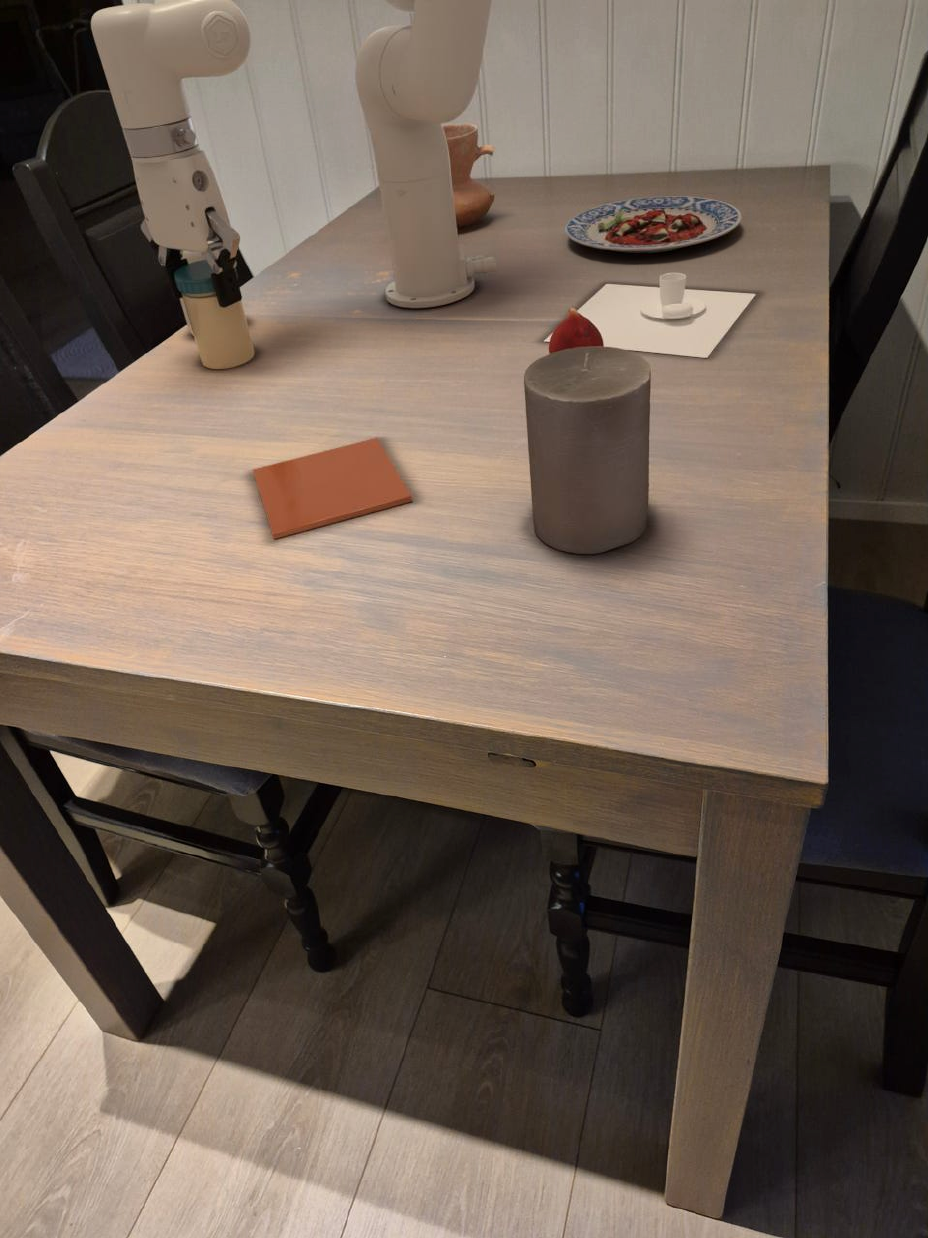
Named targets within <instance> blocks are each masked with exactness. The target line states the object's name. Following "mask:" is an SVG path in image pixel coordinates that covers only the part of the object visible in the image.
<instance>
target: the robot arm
mask: <svg viewBox="0 0 928 1238" xmlns="http://www.w3.org/2000/svg"><path fill="white" fill-rule="evenodd" d="M385 1H386V3H387V4H388V5H390V6H391V7H392V8H394V9H396V10H397V11H400V12H403V13H407V14H412V20H411V25H405V24H404V25H402V24H401V25H398V24H397V25H396V24H395V25H388V26H387V25H386V26H384V27H381V28H379V29H376V30H375V31H373V32H372V33H371V34H369V35H368V36H367V38H366V39H365V40H364V41H363V43H362V44H361V46H360V48H359V51H358V53H357V56H356V60H355V68H354V69H355V70H354V75H355V85H356V90H357V94H358V99H359V101H360V105H361V109H362V111H363V115H364V118H365V121H366V124H367V127H368V128H367V129H368V131H369V135H370V140H371V145H372V149H373V154H374V161H375V166H376V172H377V173H376V174H377V180H378V186H379V192H380V200H381V205H382V210H383V217H384V225H385V232H386V236H387V242H388V247H389V249H388V250H389V256H390V262H391V267H392V273H393V280H394V281H392V282H391V283H390V284H388V285H387V287H386V288H385V291H384V293H385V294H384V295H385V300H386V301H387V303H390V304H391V305H393V306H395V307H399V308H404V309H405V308H407V309H429V308H435V307H440V306H445V305H449V304H452V303H456V302H458V301H461V300H462V299H464V298H467V297H468V296H469V295H470V294H472V292H473V291H474V290H475V279H474V278H475V277H474V275H478V274H488V273H494V272H496V269H497V266H496V260H495V257H494V256H490V257H485V258H484V255H482V254H481V255H475V256H471V257H467V256H466V255H465V256H464V255H463V253H462V251H461V249H460V244H459V233H458V229H457V224H456V215H455V207H454V198H453V189H452V180H451V171H450V168H451V167H450V159H449V151H448V146H447V141H446V137H445V133H444V130H443V126H442V125H443V124H445V123H449V122H452V121H454V120H456V119H458V118H459V117H460V116H461V115H463V113H465V111H466V110H467V108H468V107H469V105H470V104H471V102H472V100H473V98H474V95H475V92H476V89H477V87H478V86H477V85H478V82H479V77H480V73H481V67H482V62H483V55H484V50H485V45H486V38H487V31H488V25H489V20H490V13H491V7H492V1H493V0H385ZM90 29H91V33H92V37H93V40H94V43H95V47H96V50H97V53H98V56H99V59H100V61H101V65H102V69H103V71H104V75H105V79H106V81H107V84H108V88H109V91H110V94H111V97H112V102H113V104H114V108H115V110H116V115H117V117H118V120H119V124H120V127H121V130H122V133H123V137H124V140H125V143H126V146H127V149H128V153H129V156H130V158H131V159H130V160H131V162H132V167H133V173H134V179H135V184H136V189H137V192H138V193H137V194H138V197H139V201H140V204H141V208H142V212H143V215H144V219H143V221H142V222H141V224H140V230H141V231H142V233H143V234H144V236H145V238H146V239H147V240H148V242H149V245H150V247H151V249H152V250H153V251H154V252H155V254H156V255H157V256H158V257H157V258H158V259H157V260H158V261H159V264H160V265H161V266H163V269H164V272H165V275H166V279H167V281H168V284H169V285H168V286H169V288H170V291H171V294H172V297H173V299H175V300H180V298H183V297H182V292H180V291H179V290H178V288H177V286H176V282H175V277H174V273H175V272H176V270H178V269H179V268H181V267H183V266H185V265H187V264H188V261H187V259H182V257H183V250H185V251H192V252H201V253H202V254H203V256H204V257H205V259H206V260H207V262H208V263H209V265H210V266H211V268H212V270H213V271H214V273H212V274H211V278H212V282H213V285H214V289H215V292H216V296H217V300H218V303H219V306H220V307H223V308H226V307H228V306H230V305H232V304H234V303H236V302H239V301H242V300H243V295H242V292H241V288H240V285H239V279H238V280H237V276H236V272H235V268H236V267H237V265H238V263H237V259H238V256H239V247H240V242H241V235H240V234H239V233H238V231H236V229H235V228H234V227H232V225H231V221H230V218H229V214H228V211H227V207H226V205H225V201H224V198H223V195H222V191H221V189H220V186H219V183H218V180H217V179H216V176H215V172H214V170H213V168H212V166H211V164H210V161H209V159H208V157H207V155H206V153H205V151H204V150H202V149H201V147H200V144H199V140H198V137H197V132H196V129H195V126H194V122H193V118H192V114H191V111H190V107H189V103H188V100H187V95H186V92H185V88H184V84H183V80H182V79H188V78H189V79H190V78H216V77H217V78H218V77H223V76H228V75H229V74H232V73H234V72H236V71H237V70H238V69H240V68H241V66H243V65H244V63H245V61H246V60H247V58H248V56H249V54H250V50H251V46H252V45H251V44H252V34H251V28H250V24H249V22H248V20H247V17H246V16H245V14H244V12H243V11H242V10H241V8H240V7H239V6H238V5H237V4H236V3H235V2H234V1H233V0H154V1H153V3H149V2H138V3H130V4H122V5H116V6H111V7H106V8H102V9H99V10H97V11H96V12H94V13H93V15H92V16H91V20H90ZM207 241H213V243H210V244H208V242H207ZM215 250H218V251H219V252H220V254H219V257H218V259H217V258H216V256H215V255H214V253H213V251H215ZM181 259H182V260H181ZM234 267H235V268H234Z"/></svg>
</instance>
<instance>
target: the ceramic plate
mask: <svg viewBox="0 0 928 1238" xmlns="http://www.w3.org/2000/svg"><path fill="white" fill-rule="evenodd" d="M742 218H743V217H742V212H741V210H739V209H738V208H736V207H735V206H734V205H732V204H730V203H727V202H724V201H721V200H717V199H713V198H708V197H698V196H686V195H684V196H683V195H682V196H679V195H678V196H676V195H672V196H671V195H670V196H669V195H665V196H664V195H663V196H662V195H661V196H650V197H637V198H631V199H625V200H620V201H614V202H610V203H605V204H602V205H599V206H596V207H593V208H590V209H587V210H585V211H582V212H581V213H579V214H577V215H575V216H574V217H572V218H570V219H569V221H568V222H567V223H566V224H565V228H564V232H565V235H566V236H567V238H569V239H570V240H572V241H573V242H575V243H578V244H580V245H582V246H585V247H591V248H594V249H597V250H598V249H599V250H609V251H612V252H619V253H629V254H654V253H661V252H669V251H675V250H679V249H683V248H687V247H690V246H692V245H693V246H694V245H698V244H701V243H705V242H708V241H712V240H715V239H717V238H719V237H721V236H724V235H726V234H728V233H730V232H731V231H734V230H735V229H736V228H737V227H738V226H739V225H740V224H741V222H742Z"/></svg>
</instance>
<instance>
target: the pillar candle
mask: <svg viewBox="0 0 928 1238" xmlns="http://www.w3.org/2000/svg"><path fill="white" fill-rule="evenodd" d="M651 380H652V369H651V365H650V363H649V362H648V360H647V359H646V358H644V357H643V356H642V355H641V354H640V353H637V352H634V351H632V350H625V349H620V348H613V347H602V346H589V347H576V348H571V349H566V350H561V351H558V352H554V353H550V354H549V353H548V354H546V355H544V356H541V357H540V358H537V359H535V361H533V362H531V364H530V365H529V366H527V368H526V369H525V371H524V374H523V386H524V403H525V404H524V406H525V418H526V419H525V420H526V433H527V435H526V436H527V449H528V463H529V479H530V493H531V496H530V497H531V507H532V510H531V512H532V524H533V530H534V533H535V535H536V536H537V537H538V538H539V540H541V541H542V542H543V543H545V544H546V545H548V546H549V547H551V548H553V549H555V550H559V551H562V552H566V553H570V554H571V553H572V554H577V555H583V554H584V555H596V554H601V553H605V552H607V551H611V550H613V549H616V548H620V547H622V546H625V545H628V544H630V543H631V544H632V543H633V542H634V541H636V540H637V539H638V538H640V537H641V536H642V534H644V531H645V530H646V527H647V524H648V511H649V499H650V498H649V493H650V492H649V491H650V489H649V487H650V429H651V428H650V425H651V424H650V422H651V385H652V384H651V382H652V381H651Z"/></svg>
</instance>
